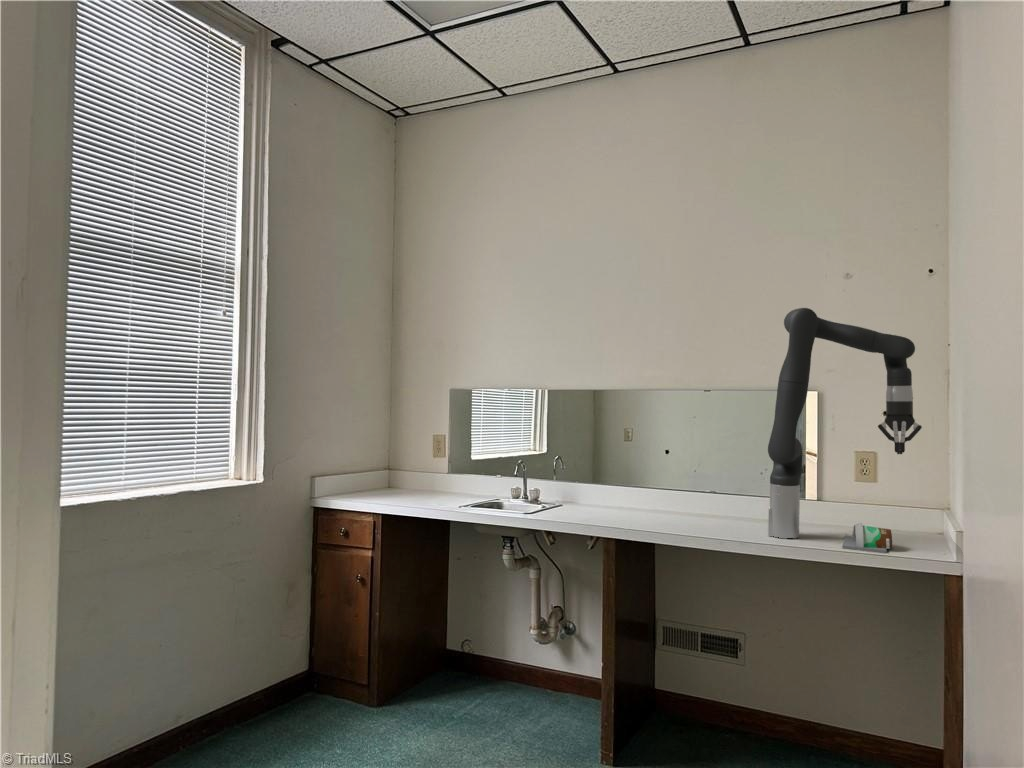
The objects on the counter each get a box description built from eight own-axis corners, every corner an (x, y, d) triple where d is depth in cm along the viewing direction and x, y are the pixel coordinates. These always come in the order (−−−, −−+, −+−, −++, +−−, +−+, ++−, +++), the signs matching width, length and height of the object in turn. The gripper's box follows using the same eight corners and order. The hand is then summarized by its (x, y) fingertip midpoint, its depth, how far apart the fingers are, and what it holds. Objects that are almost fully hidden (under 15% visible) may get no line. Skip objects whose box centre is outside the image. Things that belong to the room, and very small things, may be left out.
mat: (842, 548, 218) (842, 545, 218) (845, 538, 232) (845, 535, 232) (886, 553, 212) (886, 550, 212) (886, 542, 226) (886, 540, 226)
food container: (893, 529, 213) (856, 526, 216) (893, 550, 213) (856, 546, 216) (888, 522, 224) (853, 519, 228) (887, 541, 224) (852, 538, 228)
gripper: (875, 400, 227) (876, 454, 227) (923, 400, 221) (923, 456, 221) (876, 399, 234) (877, 452, 234) (923, 399, 227) (923, 453, 227)
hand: (899, 453), depth 227 cm, fingers closed
